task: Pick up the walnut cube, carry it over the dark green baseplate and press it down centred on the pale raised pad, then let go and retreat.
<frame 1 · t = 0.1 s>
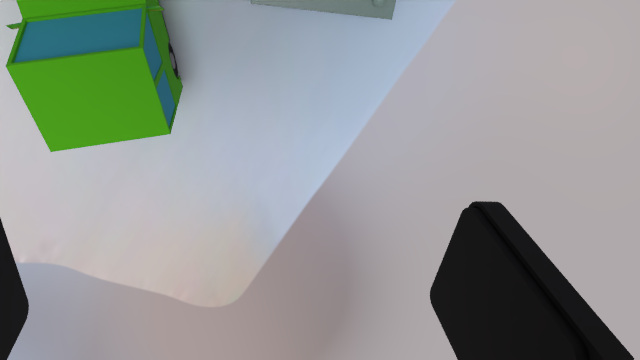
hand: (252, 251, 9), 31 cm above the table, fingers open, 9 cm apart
toy car: (111, 9, 34), on the table
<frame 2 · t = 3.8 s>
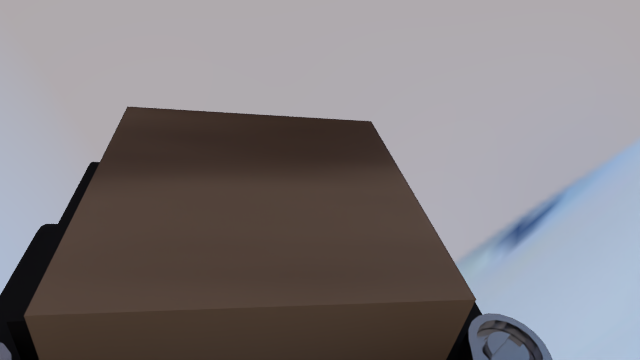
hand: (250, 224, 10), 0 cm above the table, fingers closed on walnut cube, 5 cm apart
walnut cube: (250, 210, 10), on the table, touching gripper
when the fingers open (3 cm above the table, at t = 8.5 s): walnut cube stays where it is, resting on baseplate.
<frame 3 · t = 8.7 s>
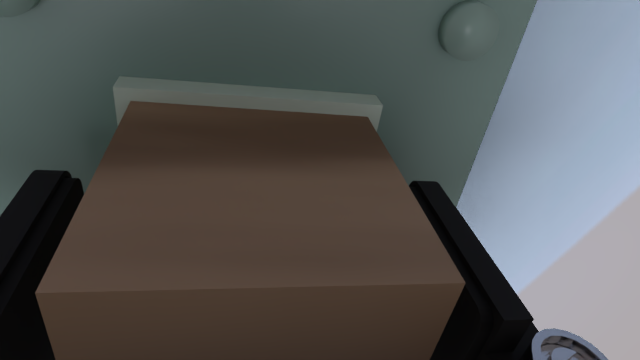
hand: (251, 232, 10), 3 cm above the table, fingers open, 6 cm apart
baseplate: (248, 165, 12), on the table
walnut cube: (249, 203, 10), point 2 cm above the table, touching baseplate
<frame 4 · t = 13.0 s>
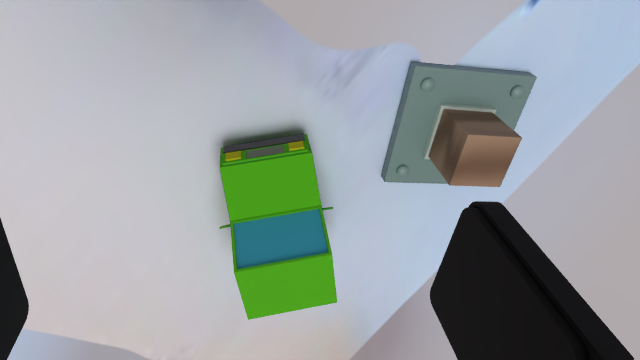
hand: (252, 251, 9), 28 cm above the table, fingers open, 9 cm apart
baseplate: (451, 126, 42), on the table
walnut cube: (459, 134, 41), point 2 cm above the table, touching baseplate
toy car: (273, 187, 43), on the table
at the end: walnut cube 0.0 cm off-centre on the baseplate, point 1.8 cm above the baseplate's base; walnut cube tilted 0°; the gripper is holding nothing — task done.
